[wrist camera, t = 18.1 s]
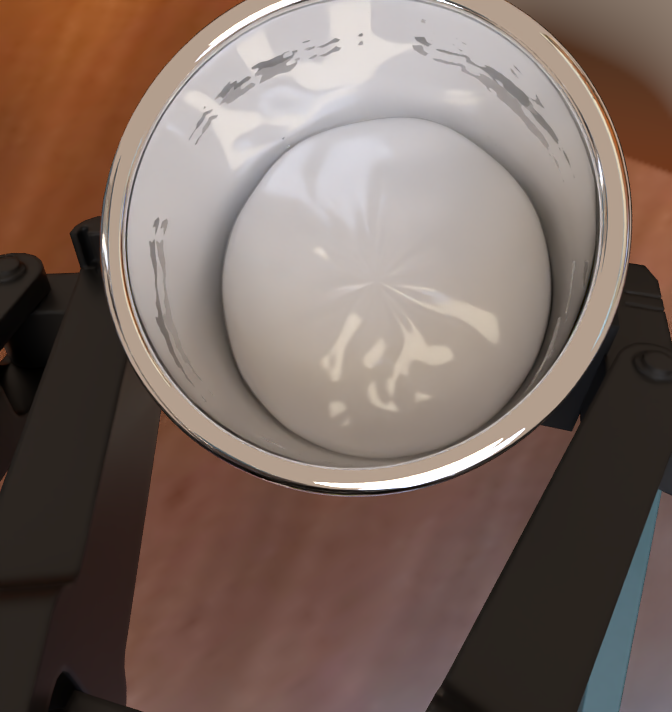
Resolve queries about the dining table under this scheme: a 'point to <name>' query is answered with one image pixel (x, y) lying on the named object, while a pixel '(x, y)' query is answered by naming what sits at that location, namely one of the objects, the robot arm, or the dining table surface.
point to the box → (620, 631)
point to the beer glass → (365, 238)
